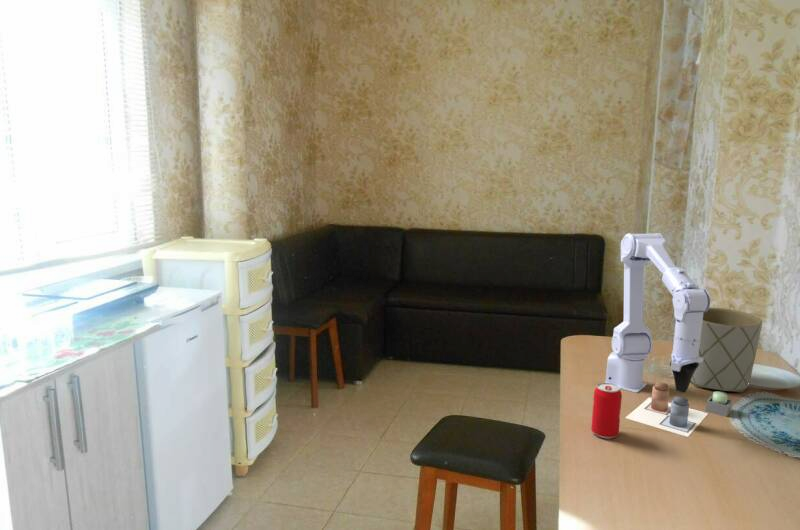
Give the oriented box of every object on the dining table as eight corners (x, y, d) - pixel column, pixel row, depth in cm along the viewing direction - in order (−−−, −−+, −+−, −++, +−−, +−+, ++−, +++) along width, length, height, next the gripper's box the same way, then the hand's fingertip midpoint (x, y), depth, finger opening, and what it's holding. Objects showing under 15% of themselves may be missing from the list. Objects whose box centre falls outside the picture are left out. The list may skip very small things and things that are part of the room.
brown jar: (648, 408, 162) (650, 385, 161) (654, 403, 165) (656, 380, 164) (664, 413, 160) (666, 389, 158) (669, 408, 163) (672, 384, 161)
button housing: (705, 411, 161) (706, 400, 161) (710, 405, 165) (711, 395, 164) (726, 417, 158) (727, 406, 158) (731, 411, 162) (732, 400, 161)
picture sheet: (625, 418, 157) (625, 417, 157) (649, 397, 170) (649, 397, 170) (687, 437, 147) (687, 436, 147) (708, 414, 160) (708, 413, 160)
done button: (710, 405, 161) (711, 394, 160) (713, 401, 164) (715, 390, 163) (724, 409, 159) (725, 398, 158) (728, 404, 161) (729, 393, 161)
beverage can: (618, 430, 151) (622, 383, 148) (618, 442, 145) (622, 393, 142) (591, 426, 153) (595, 380, 150) (590, 437, 147) (594, 389, 144)
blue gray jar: (666, 423, 154) (669, 399, 152) (672, 418, 157) (675, 394, 155) (683, 429, 151) (686, 404, 150) (689, 423, 154) (692, 399, 153)
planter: (759, 399, 169) (769, 329, 165) (683, 390, 175) (690, 321, 171) (746, 374, 187) (754, 310, 183) (677, 366, 193) (683, 304, 189)
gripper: (695, 348, 141) (689, 404, 144) (713, 334, 152) (707, 386, 155) (663, 342, 146) (658, 396, 149) (683, 328, 157) (677, 379, 159)
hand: (681, 390), depth 152 cm, fingers closed
